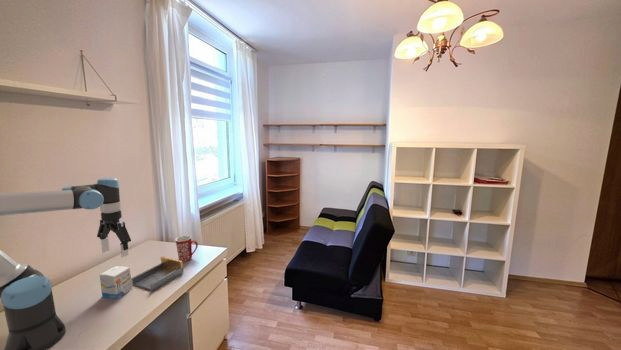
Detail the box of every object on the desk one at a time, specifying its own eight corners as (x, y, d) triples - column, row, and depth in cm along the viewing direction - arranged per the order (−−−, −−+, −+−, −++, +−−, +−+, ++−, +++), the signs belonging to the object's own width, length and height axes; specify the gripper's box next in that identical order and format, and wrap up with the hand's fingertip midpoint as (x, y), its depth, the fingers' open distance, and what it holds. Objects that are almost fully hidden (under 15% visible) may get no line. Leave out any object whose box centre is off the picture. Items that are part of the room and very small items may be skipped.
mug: (173, 262, 151) (171, 241, 148) (181, 255, 159) (180, 235, 157) (194, 262, 150) (193, 241, 148) (201, 255, 159) (200, 235, 157)
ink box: (116, 299, 116) (113, 276, 115) (101, 297, 118) (98, 274, 116) (133, 288, 125) (130, 266, 123) (118, 286, 126) (116, 265, 125)
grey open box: (152, 291, 123) (151, 278, 121) (131, 284, 128) (130, 272, 127) (183, 272, 139) (182, 261, 138) (163, 267, 145) (162, 256, 143)
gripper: (137, 211, 117) (141, 254, 120) (102, 206, 126) (106, 246, 128) (120, 216, 110) (125, 261, 113) (84, 210, 119) (89, 252, 121)
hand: (115, 253), depth 121 cm, fingers open, 13 cm apart
